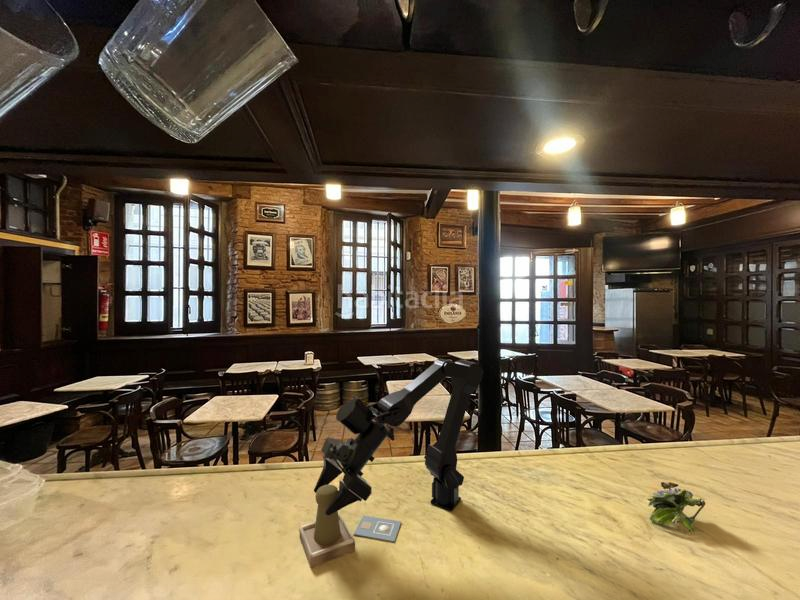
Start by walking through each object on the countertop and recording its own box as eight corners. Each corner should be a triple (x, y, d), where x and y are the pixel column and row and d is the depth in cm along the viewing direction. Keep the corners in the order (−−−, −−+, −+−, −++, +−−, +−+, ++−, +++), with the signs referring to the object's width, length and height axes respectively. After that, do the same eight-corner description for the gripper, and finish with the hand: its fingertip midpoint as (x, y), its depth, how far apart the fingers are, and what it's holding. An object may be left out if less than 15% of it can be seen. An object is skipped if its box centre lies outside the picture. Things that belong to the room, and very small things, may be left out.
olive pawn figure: (341, 542, 78) (341, 493, 77) (313, 547, 76) (313, 497, 76) (339, 524, 83) (339, 479, 83) (313, 528, 82) (313, 482, 81)
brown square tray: (340, 524, 86) (340, 513, 86) (355, 550, 78) (355, 539, 78) (299, 537, 82) (299, 526, 82) (310, 567, 73) (310, 555, 73)
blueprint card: (401, 522, 87) (401, 521, 87) (394, 542, 80) (394, 540, 80) (363, 516, 89) (363, 515, 89) (353, 535, 83) (353, 533, 83)
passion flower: (667, 534, 91) (687, 493, 93) (705, 558, 80) (727, 511, 82) (630, 509, 92) (651, 468, 94) (664, 529, 81) (686, 483, 83)
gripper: (330, 412, 89) (286, 465, 84) (358, 440, 72) (304, 508, 68) (359, 436, 93) (318, 488, 88) (391, 468, 76) (343, 534, 72)
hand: (320, 502), depth 79 cm, fingers open, 9 cm apart
